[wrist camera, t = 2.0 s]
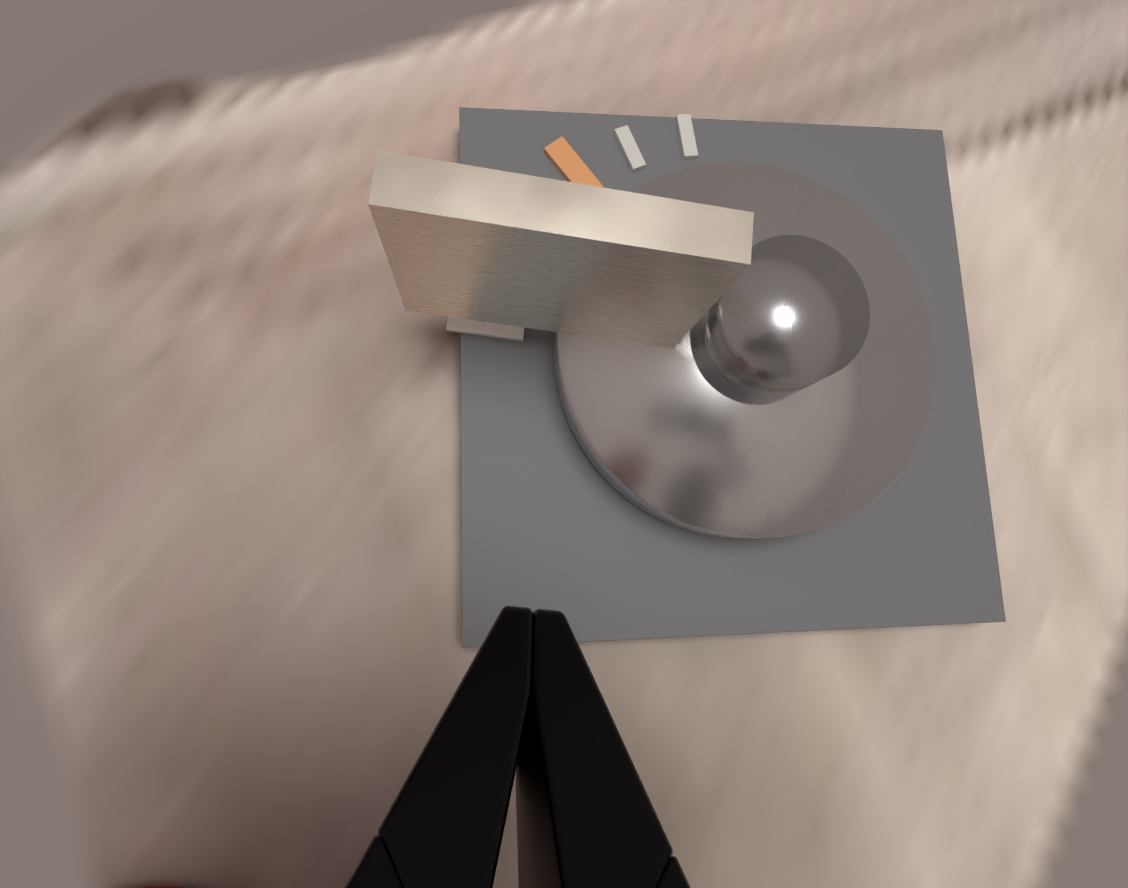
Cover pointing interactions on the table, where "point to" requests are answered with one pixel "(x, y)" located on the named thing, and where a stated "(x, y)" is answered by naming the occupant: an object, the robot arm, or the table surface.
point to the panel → (673, 555)
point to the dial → (687, 328)
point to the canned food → (161, 887)
